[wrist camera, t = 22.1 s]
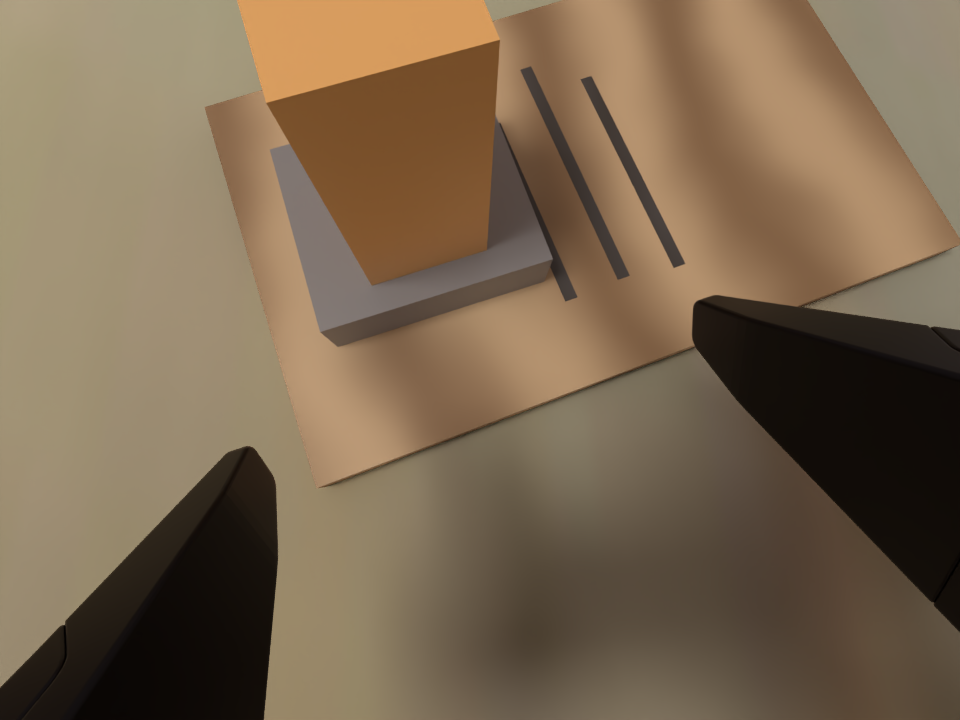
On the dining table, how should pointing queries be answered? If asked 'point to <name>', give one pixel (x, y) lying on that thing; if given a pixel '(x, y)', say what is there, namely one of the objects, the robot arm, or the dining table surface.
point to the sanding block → (393, 158)
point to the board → (607, 215)
